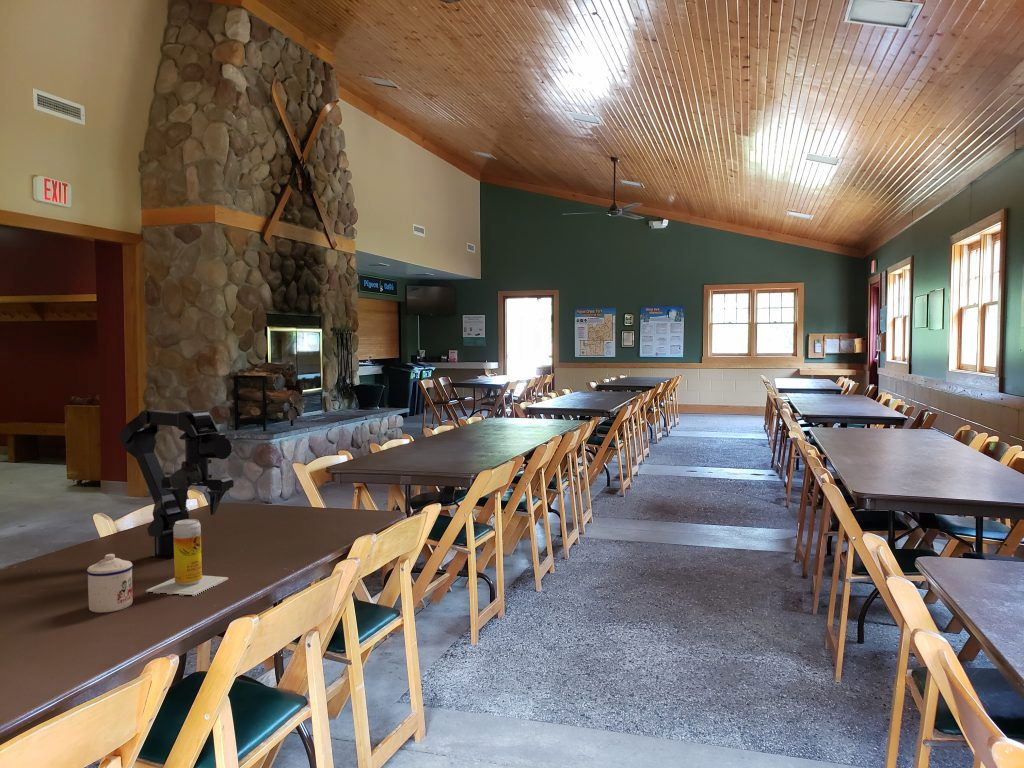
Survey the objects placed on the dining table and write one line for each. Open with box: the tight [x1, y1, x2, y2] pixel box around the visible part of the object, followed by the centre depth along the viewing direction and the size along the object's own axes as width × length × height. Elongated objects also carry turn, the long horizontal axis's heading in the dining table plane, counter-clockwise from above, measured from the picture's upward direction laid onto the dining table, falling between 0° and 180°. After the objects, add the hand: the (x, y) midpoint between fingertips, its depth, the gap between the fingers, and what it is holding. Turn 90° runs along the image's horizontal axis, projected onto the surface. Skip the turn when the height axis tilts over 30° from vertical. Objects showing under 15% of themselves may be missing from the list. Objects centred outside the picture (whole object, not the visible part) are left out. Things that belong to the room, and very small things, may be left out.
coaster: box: [145, 574, 229, 597], centre depth 177 cm, size 13×13×1 cm
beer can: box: [173, 518, 203, 586], centre depth 177 cm, size 6×6×15 cm
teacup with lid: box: [86, 553, 134, 614], centre depth 164 cm, size 12×9×12 cm
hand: (197, 514), depth 197 cm, fingers open, 9 cm apart
